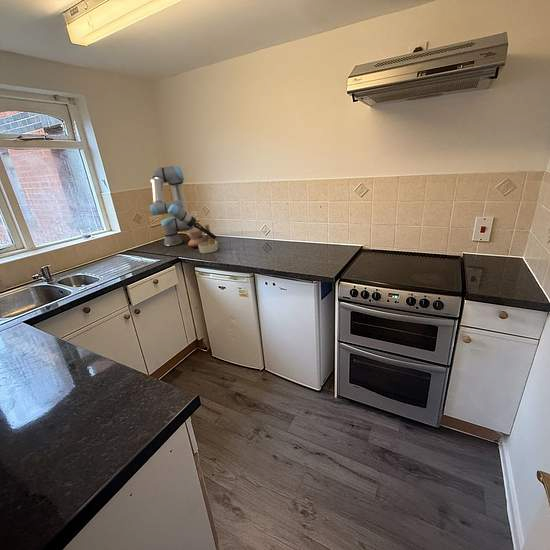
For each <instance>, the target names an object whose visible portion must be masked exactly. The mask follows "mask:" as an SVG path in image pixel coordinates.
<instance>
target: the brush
mask: <svg viewBox="0 0 550 550" xmlns="http://www.w3.org/2000/svg"><path fill="white" fill-rule="evenodd" d="M204 228H205V229H206V230H208V231H210V232H211V230H210V226H209V224H205V225H204ZM207 238H208V240H206V242H208V245H213V244H215V241H216V240H215V239H213V238H212V237H210V236H209V235H208V236H207Z"/></svg>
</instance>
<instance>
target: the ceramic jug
mask: <svg viewBox="0 0 550 550" xmlns="http://www.w3.org/2000/svg"><path fill="white" fill-rule="evenodd" d="M186 236H188V237H189V238H190V239H189V241H188V243H187V245H188V247H189V248H193V249H195V248H196V249H198V244H200V243H203V242H207V235H206V233H204V232H202V231H201V230H199V229H197V228H193V229H190V230H186ZM202 236H203V238H202Z"/></svg>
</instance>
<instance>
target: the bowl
mask: <svg viewBox="0 0 550 550" xmlns="http://www.w3.org/2000/svg"><path fill="white" fill-rule="evenodd" d="M197 249H198V252H199V253H200V254H205V255H206V254H212V253H215V252H217V251H218V250H219V243H218V241H216V240H215V244H213V245H208V242H207V241H206V242H203V243H200V244H198V247H197Z"/></svg>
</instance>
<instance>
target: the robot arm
mask: <svg viewBox="0 0 550 550" xmlns="http://www.w3.org/2000/svg"><path fill="white" fill-rule="evenodd" d="M184 181H185V175H184V174H183V171H182V169H181V166H179V165H171V166H164V167H158V168H156V169H155V170H154V171H153V172H152V174H151V176H150V184H151V189H152V204H151V205H150V206H149V210H150V213H151V215H152V216H161V215H166V214H169V215H171V216H170V217H167V218H164V219H162V220H160V224H161V228H162V229H161V230H162V233H163V236H164V239H163V246H164V247H177V246H179V245H181V244H183V240H182V239H181V237H180V235H179V232H185V231H186V232H187V231H188V230H190V229H196V228H197V229H199V230H201V231H202V233H204V234H205V235H206V237H208V235H209V236H210V237H212V240H215V239H216V238H217V235H216V234H214V233H212V232H211V230H210V231H208V230H206V227H205V226H204V227H203V225H201V223H199V222H197V218H196V217H195V216H193V215H192V214H191V213H189V212H188V211H189V210H188V206H187V202H186V197H185V193H184V188H183V185H184ZM166 183H167V184H168V186H170V188H171V192H172V196H173V201H170V202H165V196H164V187H163V186H164V184H166Z"/></svg>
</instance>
